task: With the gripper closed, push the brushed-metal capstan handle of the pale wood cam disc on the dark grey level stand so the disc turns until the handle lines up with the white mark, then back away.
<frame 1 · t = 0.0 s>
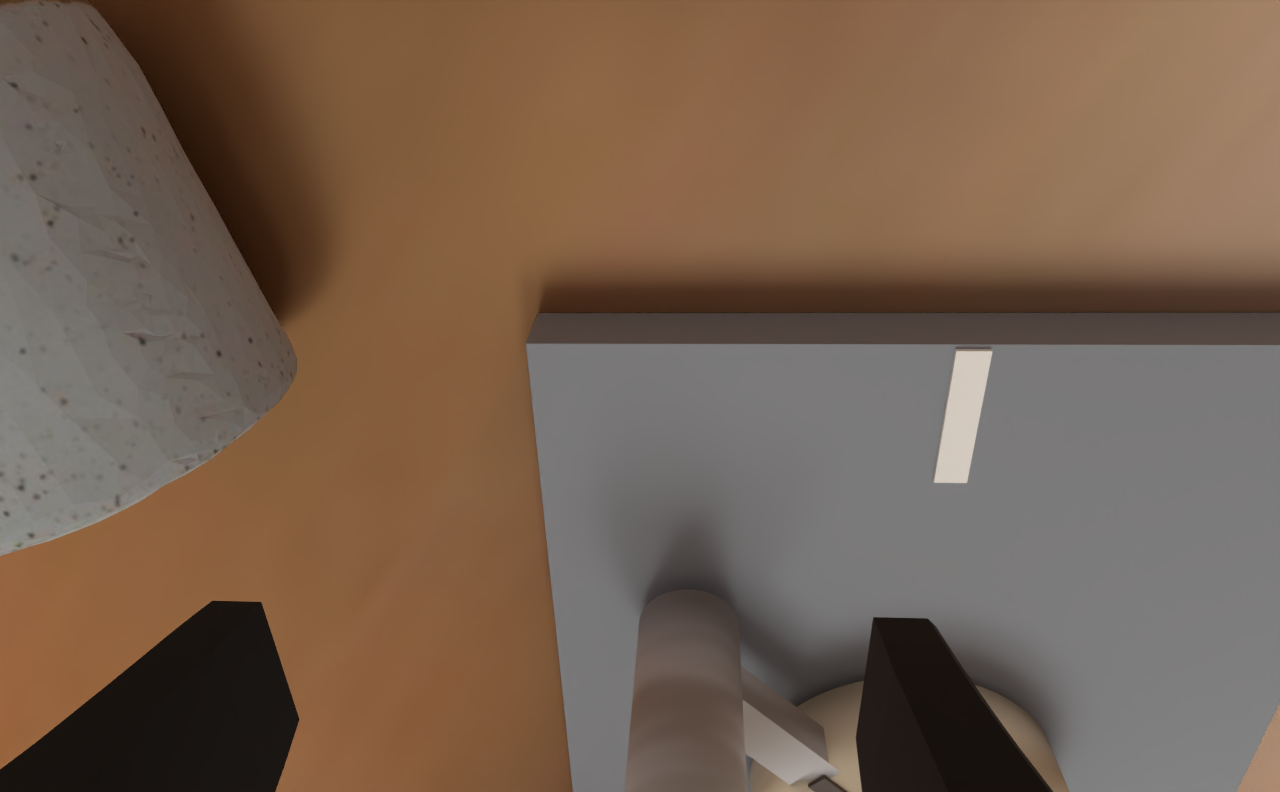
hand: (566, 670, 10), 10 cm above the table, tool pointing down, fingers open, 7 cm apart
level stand: (894, 676, 24), on the table
ceramic mug: (78, 224, 19), on the table
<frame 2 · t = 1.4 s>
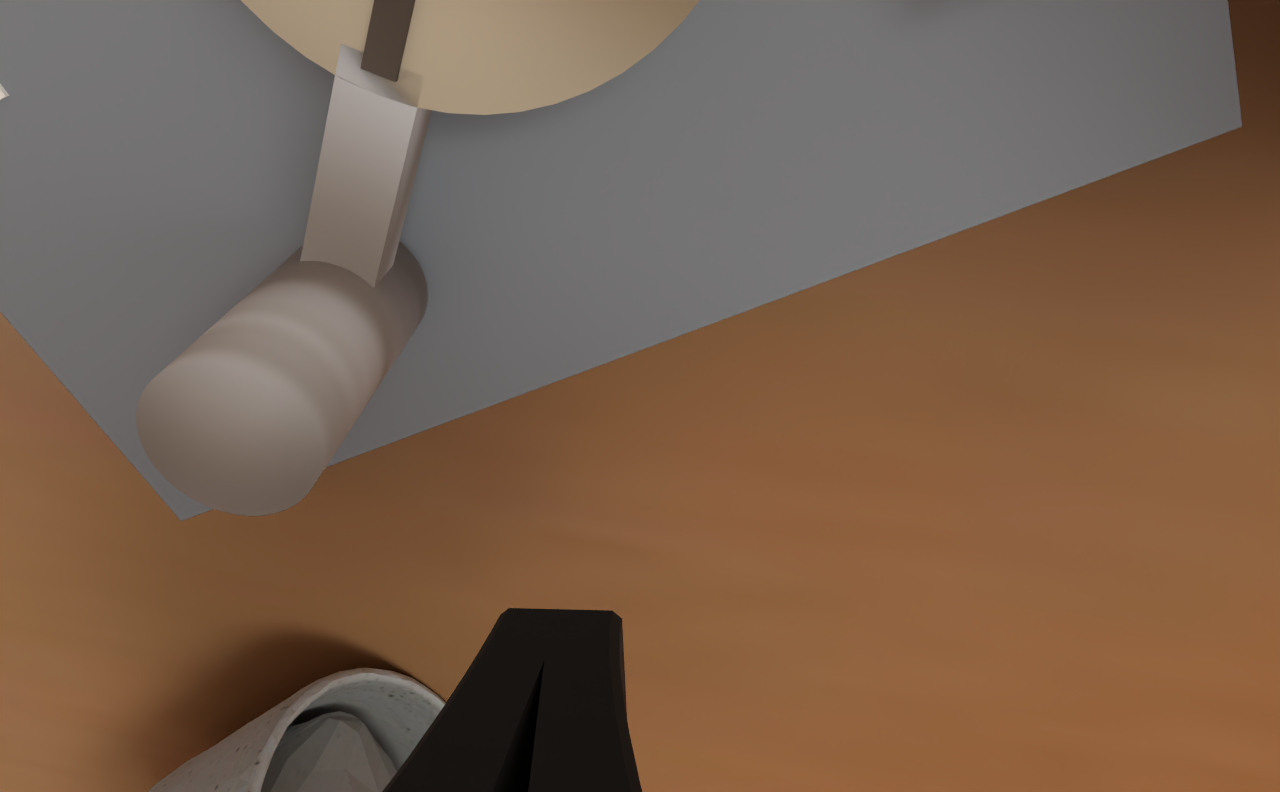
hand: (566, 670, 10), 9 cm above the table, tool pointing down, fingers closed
ceramic mug: (386, 758, 26), on the table
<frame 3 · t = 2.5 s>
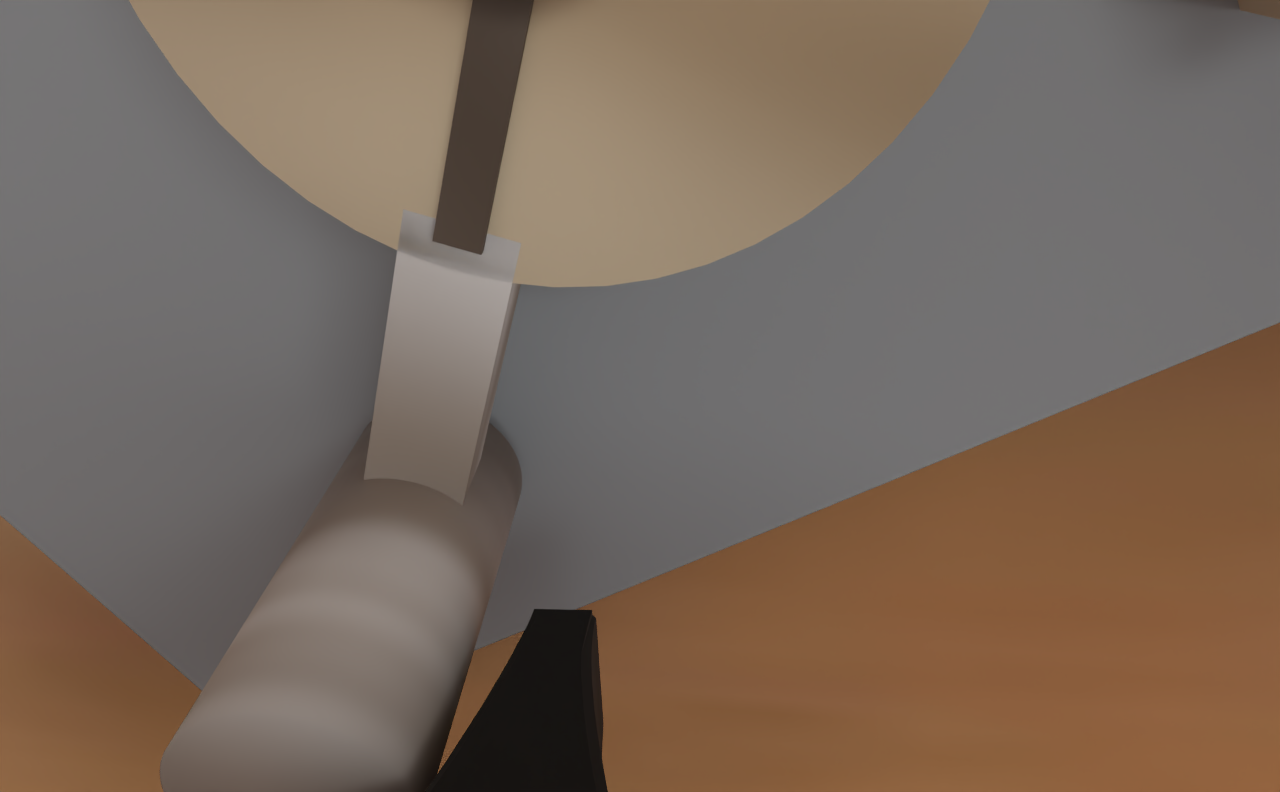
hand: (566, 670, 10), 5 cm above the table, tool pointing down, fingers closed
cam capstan: (461, 158, 8), point 5 cm above the table, hinge at 43.4°, touching gripper
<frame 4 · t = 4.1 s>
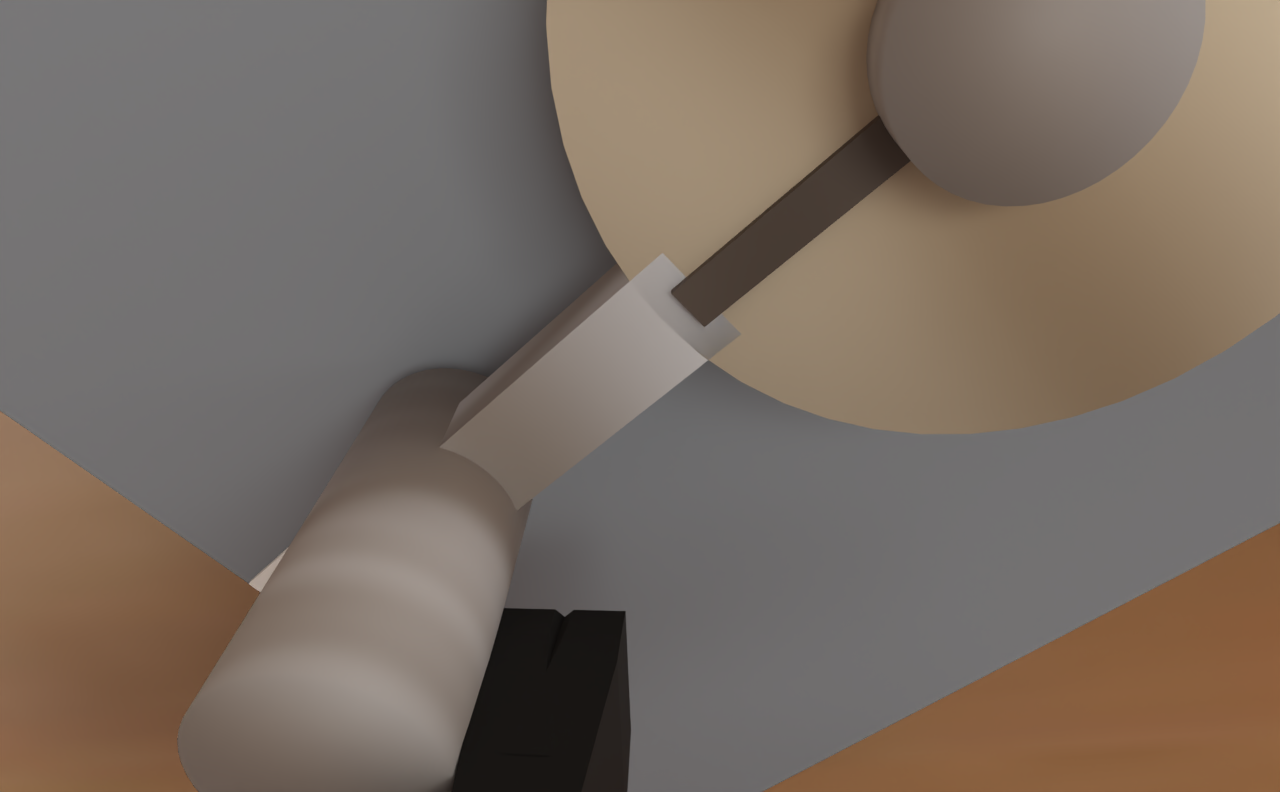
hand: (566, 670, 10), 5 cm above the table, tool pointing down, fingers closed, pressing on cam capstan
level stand: (785, 109, 12), on the table
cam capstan: (778, 263, 8), point 5 cm above the table, hinge at 0.2°, touching gripper
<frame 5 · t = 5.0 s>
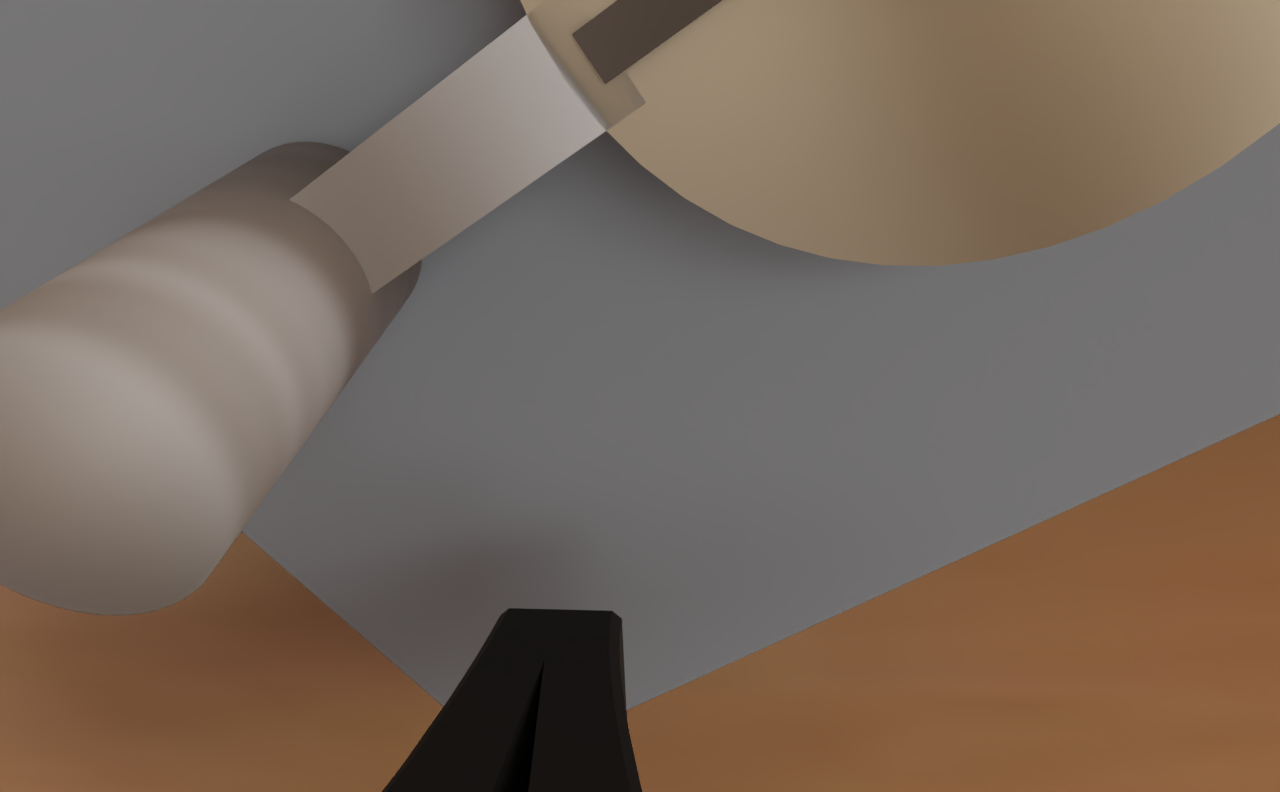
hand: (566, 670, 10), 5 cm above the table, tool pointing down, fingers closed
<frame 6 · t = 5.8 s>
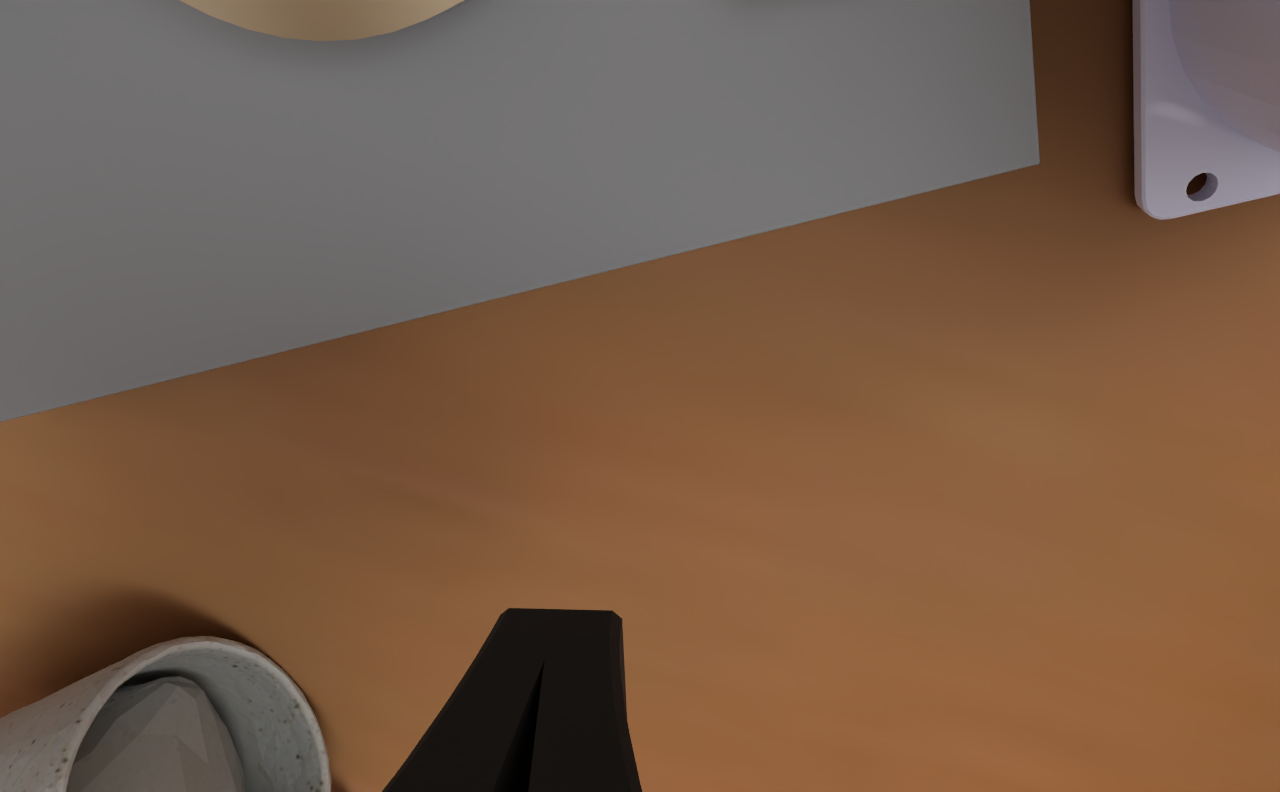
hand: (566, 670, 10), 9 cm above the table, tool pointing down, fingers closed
ceramic mug: (226, 727, 26), on the table
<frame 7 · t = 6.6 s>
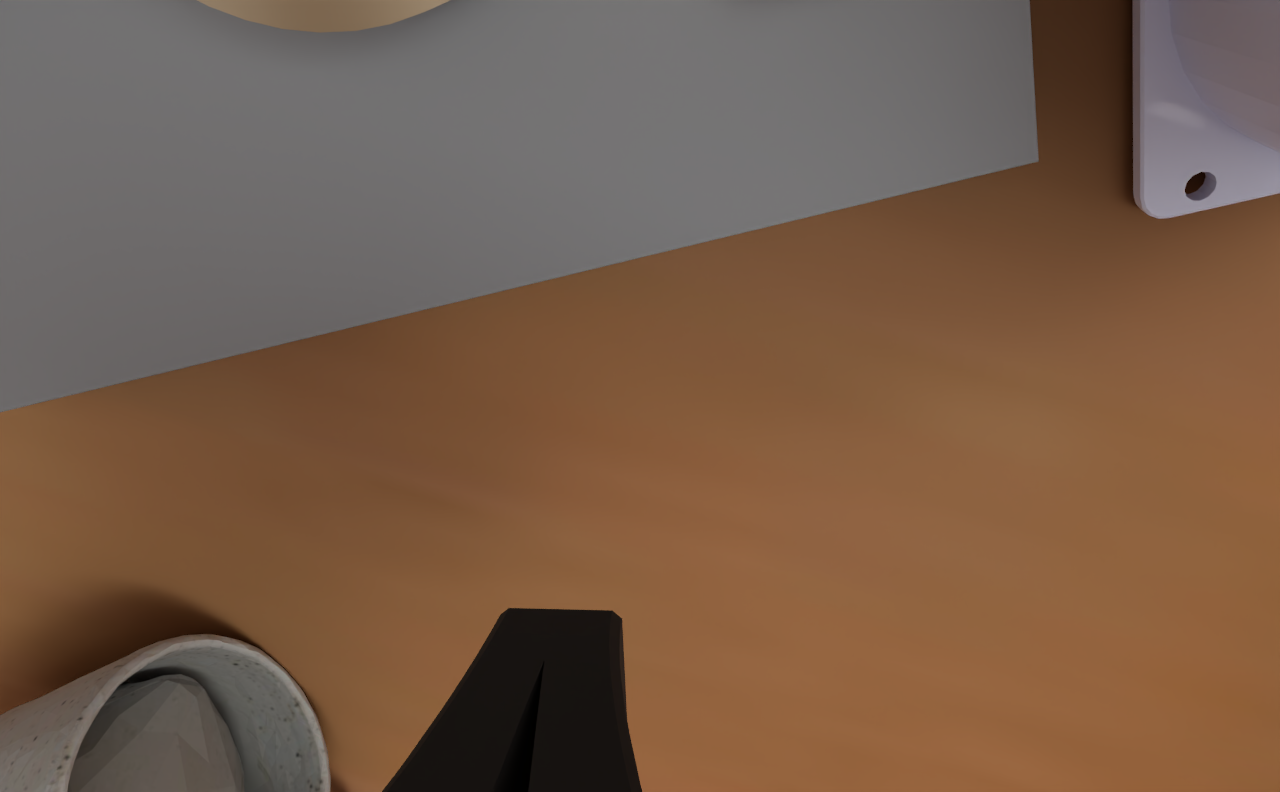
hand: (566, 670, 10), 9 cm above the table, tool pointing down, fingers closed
ceramic mug: (226, 724, 26), on the table
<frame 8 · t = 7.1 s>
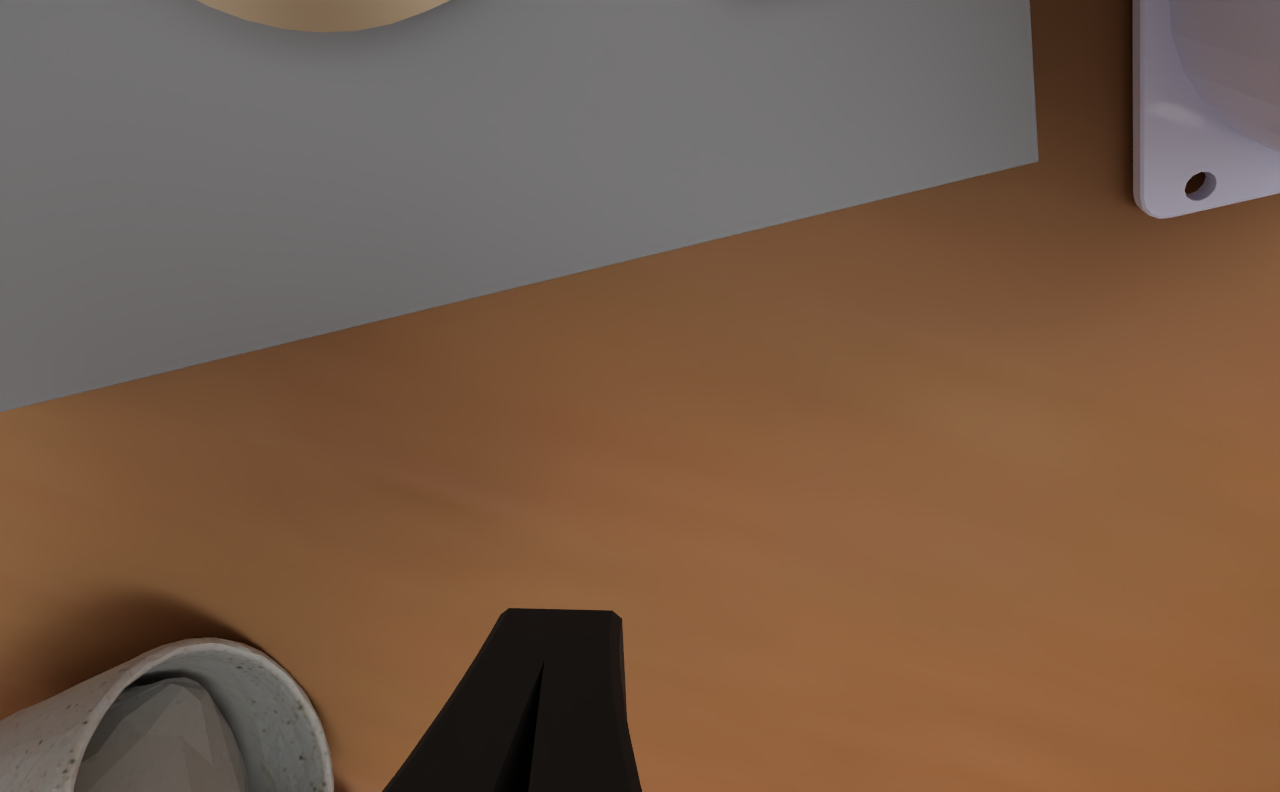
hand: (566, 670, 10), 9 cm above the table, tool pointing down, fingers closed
ceramic mug: (229, 727, 26), on the table
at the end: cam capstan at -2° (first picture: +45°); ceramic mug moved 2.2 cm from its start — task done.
